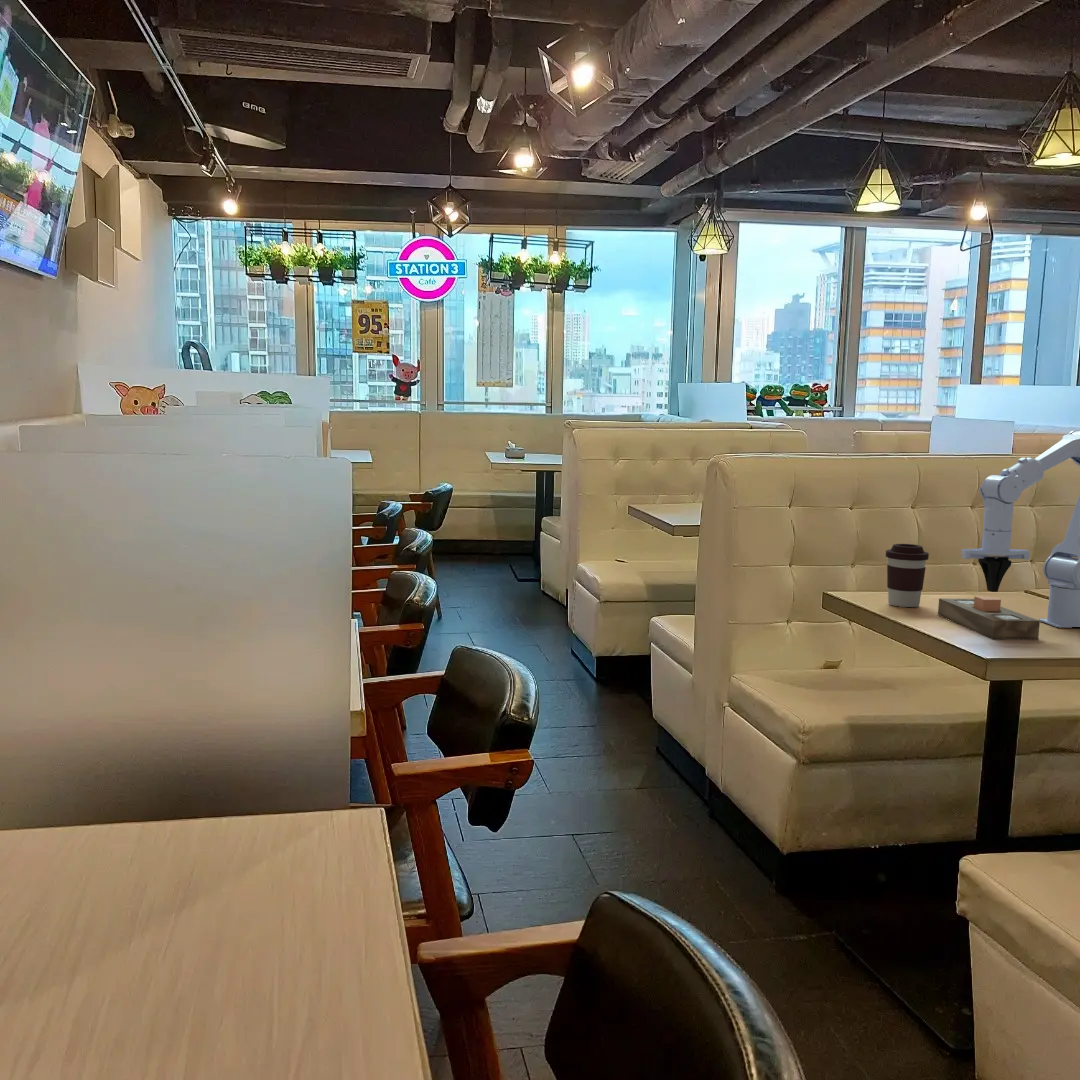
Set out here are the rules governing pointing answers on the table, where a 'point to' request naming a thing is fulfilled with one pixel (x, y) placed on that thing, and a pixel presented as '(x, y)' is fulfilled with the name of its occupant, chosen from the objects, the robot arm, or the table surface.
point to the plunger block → (989, 620)
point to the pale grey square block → (1005, 617)
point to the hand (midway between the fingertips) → (992, 591)
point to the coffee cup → (905, 574)
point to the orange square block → (987, 603)
